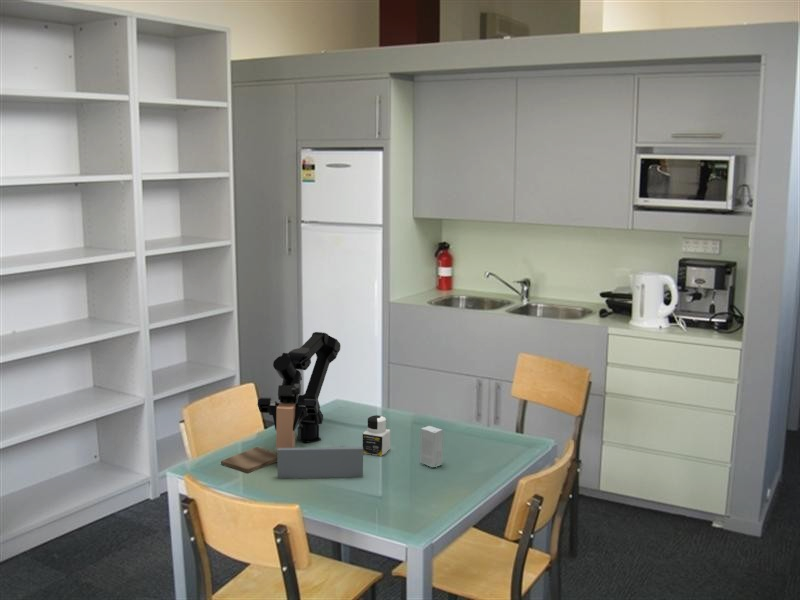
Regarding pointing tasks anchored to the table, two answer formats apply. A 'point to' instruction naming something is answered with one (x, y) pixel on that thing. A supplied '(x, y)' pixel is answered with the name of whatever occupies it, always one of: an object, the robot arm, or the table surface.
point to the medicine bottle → (376, 436)
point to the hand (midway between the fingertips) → (284, 430)
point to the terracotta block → (285, 426)
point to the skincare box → (431, 445)
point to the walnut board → (251, 460)
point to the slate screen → (320, 462)
